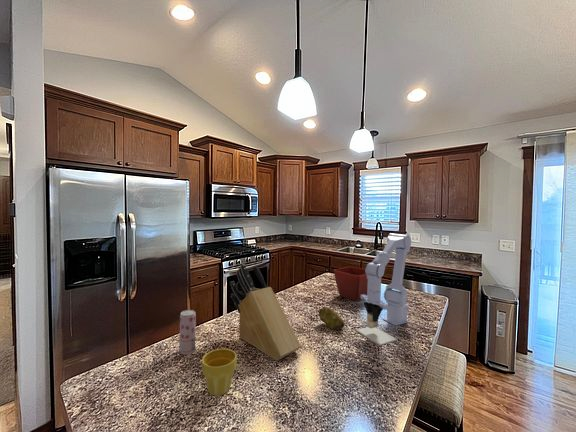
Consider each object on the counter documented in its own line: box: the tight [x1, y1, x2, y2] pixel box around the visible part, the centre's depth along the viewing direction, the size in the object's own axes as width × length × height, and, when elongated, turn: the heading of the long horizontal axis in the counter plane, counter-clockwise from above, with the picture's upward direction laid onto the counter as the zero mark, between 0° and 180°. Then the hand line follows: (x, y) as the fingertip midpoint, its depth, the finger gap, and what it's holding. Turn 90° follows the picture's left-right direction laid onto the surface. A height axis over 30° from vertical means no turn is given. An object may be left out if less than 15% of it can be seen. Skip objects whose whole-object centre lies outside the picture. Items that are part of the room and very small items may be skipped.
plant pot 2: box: [333, 266, 368, 302], centre depth 166 cm, size 19×19×17 cm
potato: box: [318, 306, 345, 330], centre depth 124 cm, size 8×13×8 cm, turn 28°
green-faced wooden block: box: [366, 312, 379, 329], centre depth 117 cm, size 4×2×6 cm, turn 117°
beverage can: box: [179, 309, 197, 356], centre depth 100 cm, size 6×6×15 cm
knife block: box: [229, 264, 302, 361], centre depth 108 cm, size 11×35×31 cm, turn 45°
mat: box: [356, 326, 398, 346], centre depth 116 cm, size 10×14×1 cm
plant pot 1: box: [201, 348, 238, 397], centre depth 80 cm, size 10×10×10 cm
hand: (373, 319), depth 117 cm, fingers closed on green-faced wooden block, 2 cm apart
